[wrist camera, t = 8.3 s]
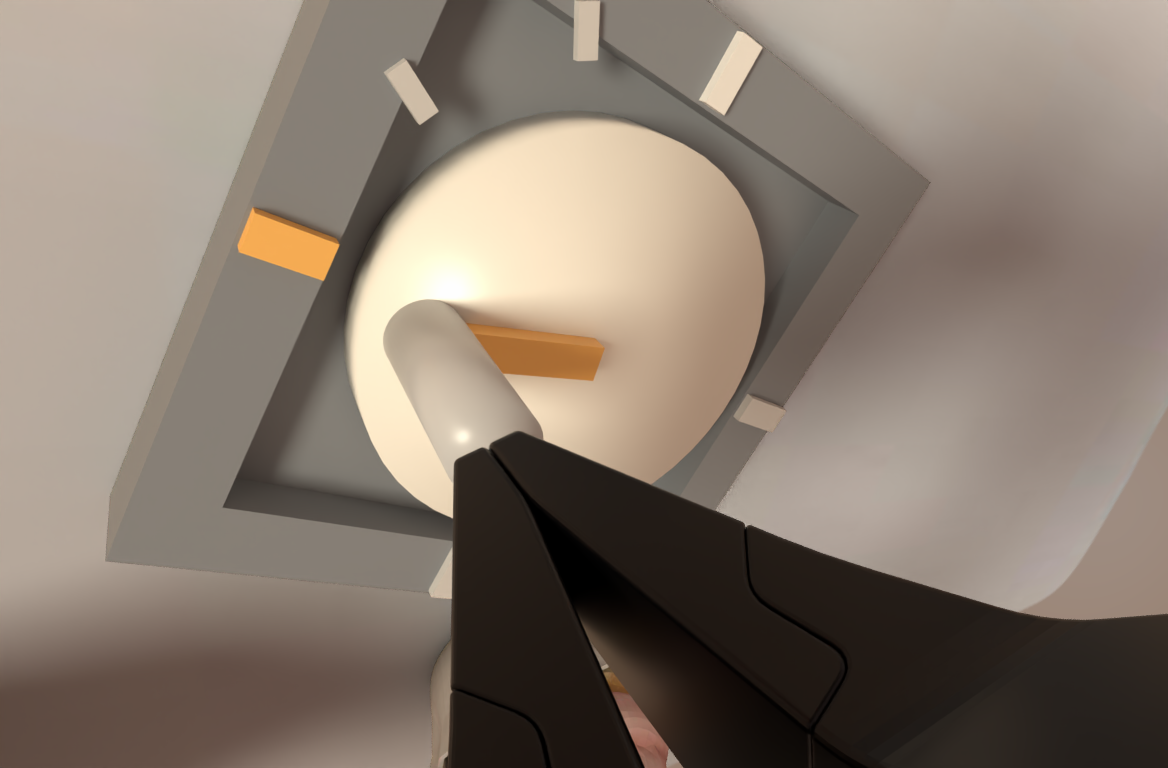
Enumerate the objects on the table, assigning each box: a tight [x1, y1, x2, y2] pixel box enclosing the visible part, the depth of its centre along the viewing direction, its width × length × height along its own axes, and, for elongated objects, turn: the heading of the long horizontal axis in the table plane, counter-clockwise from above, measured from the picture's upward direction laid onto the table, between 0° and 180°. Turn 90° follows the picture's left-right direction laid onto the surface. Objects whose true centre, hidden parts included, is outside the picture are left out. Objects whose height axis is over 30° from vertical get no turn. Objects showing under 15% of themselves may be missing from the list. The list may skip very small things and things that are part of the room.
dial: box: [344, 111, 765, 518], centre depth 20 cm, size 12×12×7 cm
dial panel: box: [105, 0, 930, 599], centre depth 22 cm, size 18×18×3 cm
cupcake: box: [430, 640, 669, 768], centre depth 27 cm, size 9×9×10 cm
